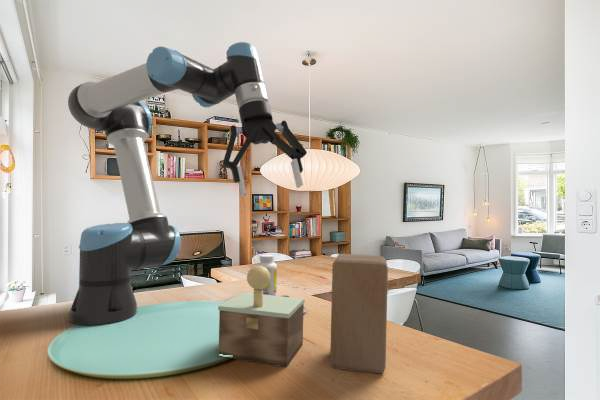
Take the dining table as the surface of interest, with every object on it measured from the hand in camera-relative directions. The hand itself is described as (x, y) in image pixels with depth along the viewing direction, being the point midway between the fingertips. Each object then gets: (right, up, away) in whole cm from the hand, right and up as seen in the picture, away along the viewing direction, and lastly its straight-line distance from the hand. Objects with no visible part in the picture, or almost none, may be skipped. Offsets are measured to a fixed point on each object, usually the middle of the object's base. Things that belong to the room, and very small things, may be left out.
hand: (272, 190), depth 83 cm
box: (-1, -33, -10) cm, 34 cm away
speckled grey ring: (+2, -34, +16) cm, 38 cm away
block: (+18, -34, -14) cm, 40 cm away
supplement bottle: (-5, -33, +34) cm, 48 cm away
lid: (-1, -24, -10) cm, 26 cm away
